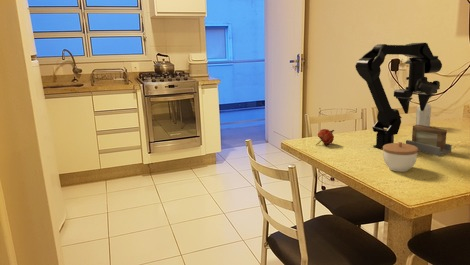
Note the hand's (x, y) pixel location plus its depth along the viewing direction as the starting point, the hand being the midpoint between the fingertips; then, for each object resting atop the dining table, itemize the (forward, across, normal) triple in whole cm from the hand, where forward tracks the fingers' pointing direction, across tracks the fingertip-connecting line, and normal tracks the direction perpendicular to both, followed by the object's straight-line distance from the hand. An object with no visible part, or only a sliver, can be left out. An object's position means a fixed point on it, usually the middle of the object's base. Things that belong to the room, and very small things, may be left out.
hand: (414, 112), depth 144 cm
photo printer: (+13, +24, +15) cm, 32 cm away
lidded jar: (+13, -30, -20) cm, 38 cm away
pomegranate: (+13, -32, +18) cm, 39 cm away
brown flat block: (+12, -4, -11) cm, 17 cm away
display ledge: (+13, -4, -11) cm, 17 cm away
